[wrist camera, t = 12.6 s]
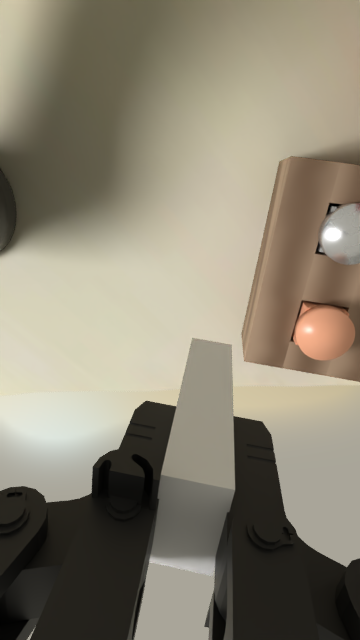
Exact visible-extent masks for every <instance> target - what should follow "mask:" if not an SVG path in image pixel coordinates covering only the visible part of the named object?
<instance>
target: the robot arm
mask: <svg viewBox="0 0 360 640" xmlns="http://www.w3.org/2000/svg"><path fill="white" fill-rule="evenodd" d="M15 222H16V207H15V201H14V197H13V193H12V191H11V188H10V186H9V183H8V181H7V179H6V178H5V176H4V174H3V173H2V171H1V170H0V251H1V250H2V249H3V248H4V247H5V246H6V245H7V244H8V242H9V241H10V239H11V237H12V234H13V232H14V228H15ZM273 450H274V449H273V443H272V437H271V434H270V433H269V431H268V430H267V428H266V427H265V425H264V424H263V422H261V421H255V420H251V419H245V418H240V417H235V416H233V381H232V345H230V344H224V343H218V342H213V341H207V340H201V339H195V338H192V342H191V346H190V350H189V355H188V359H187V363H186V368H185V372H184V376H183V381H182V385H181V389H180V394H179V398H178V402H177V407H176V406H171V405H166V404H160V403H155V402H150V401H145V402H144V403H143V404H141V405H140V406H139V407H138V408H137V409H135V411H134V414H133V416H132V419H131V421H130V424H129V426H128V428H127V430H126V433H125V436H124V438H123V440H122V443H121V445H120V447H119V449H118V450H113V451H110V452H108V453H107V454H105V455H103V456H102V457H100V458H99V459H98V461H97V462H96V463H95V465H94V466H93V477H92V493H91V494H89V495H87V496H85V497H82V498H80V499H75V500H70V501H59V502H49V503H46V501H45V498H44V496H43V495H42V494H41V493H39V492H38V491H37V490H36V489H32V488H28V487H24V486H21V487H10V488H7V489H5V490H2V491H0V640H27V638H28V637H29V635H30V634H31V632H32V631H33V629H34V628H35V630H34V632H33V634H32V636H31V639H30V640H134V637H135V632H136V627H137V622H138V617H139V612H140V607H141V603H142V598H143V593H144V587H145V579H146V574H147V569H148V564H149V562H152V563H157V564H160V565H165V566H170V567H174V568H179V569H183V570H187V571H192V572H196V573H201V574H205V575H209V576H213V572H214V568H215V587H214V592H213V596H212V599H211V602H210V606H209V610H208V614H207V618H206V622H205V627H209V640H360V559H356V560H353V561H351V563H350V564H349V565H348V567H345V566H343V565H341V564H340V563H338V562H336V561H334V560H332V559H330V558H328V557H326V556H324V555H322V554H321V553H319V552H317V551H316V550H314V549H313V548H311V547H309V546H308V545H307V544H306V543H304V541H302V540H301V539H300V538H299V537H298V535H297V533H296V530H295V528H294V527H293V526H292V524H291V523H290V522H289V521H288V519H287V518H286V515H285V511H284V506H283V500H282V494H281V489H280V483H279V478H278V472H277V466H276V464H275V462H276V460H275V454H274V452H273ZM35 626H36V627H35Z"/></svg>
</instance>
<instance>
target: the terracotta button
mask: <svg viewBox="0 0 360 640" xmlns="http://www.w3.org/2000/svg"><path fill="white" fill-rule="evenodd" d="M349 315H350V314H349V313H348V312H347V311H346V310H345V309H344V308H343V307H342V306H336V305H329V304H323V303H317V302H311V301H305V300H302V301H301V305H300V308H299V312H298V315H297V319H296V322H295V326H294V329H293V333H292V338H293V340H294V342H295V345H299V347H300V349H301V350H302V352H303V353H304V354H305V355H307V356H308V357H310V358H313V359H316V360H332V359H335V358H337V357H340V356H341V355H343V354H344V353H346V352H347V351H348V350H349V348H350V347H351V346H352V344H353V342H354V339H355V327H354V324H353V323H352V321H351V320H350V318H349Z"/></svg>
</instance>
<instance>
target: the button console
mask: <svg viewBox="0 0 360 640" xmlns="http://www.w3.org/2000/svg"><path fill="white" fill-rule="evenodd" d="M347 203H360V165H355V164H347V163H340V162H332V161H324V160H317V159H309V158H302V157H294V156H291V157H289V158H287V159H284V160H282V161H280V162H279V166H278V171H277V175H276V180H275V184H274V189H273V193H272V198H271V203H270V207H269V212H268V216H267V221H266V225H265V230H264V234H263V239H262V243H261V248H260V252H259V257H258V262H257V266H256V271H255V275H254V280H253V284H252V289H251V293H250V298H249V302H248V307H247V311H246V316H245V321H244V325H243V330H242V344H243V354H244V361H246V362H251V363H257V364H263V365H268V366H274V367H279V368H285V369H291V370H296V371H302V372H308V373H313V374H319V375H325V376H330V377H336V378H342V379H347V380H353V381H358V382H360V263H358V264H353V265H345V264H340V263H338V262H336V261H334V260H332V259H331V258H330V257H328V256H327V255H326V254H325V253H324V252H319V251H317V250H316V248H317V245H318V232H319V228H320V225H321V223H322V221H323V220H324V218H325V217H326V213H327V210H328V206H329V205H333V206H340V205H343V204H347ZM302 300H305V301H311V302H317V303H323V304H329V305H336V306H342V307H343V308H344V309H345V310H346V311H347V312H348V313H349V314H350V315H349V318H350V320H351V321H352V323H353V324H354V327H355V339H354V342H353V344H352V346H351V347H350V348H349V350H348V351H347V352H346V353H344V354H343V355H341V356H340V357H337V358H335V359H332V360H316V359H313V358H310V357H308V356H307V355H305V354H304V353H303V352H302V350H301V349H300V347H299V345H295V342H294V340H293V338H292V333H293V329H294V326H295V322H296V319H297V315H298V312H299V308H300V305H301V301H302Z"/></svg>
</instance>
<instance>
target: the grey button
mask: <svg viewBox="0 0 360 640" xmlns="http://www.w3.org/2000/svg"><path fill="white" fill-rule="evenodd" d="M316 250H317V251H319V252H324V253H325V254H326V255H327V256H328V257H330V258H331V259H332V260H334V261H336V262H338V263H340V264H345V265H353V264H358V263H360V203H347V204H343V205H340V206H333V205H329V206H328V210H327V213H326V217H325V218H324V220H323V221H322V223H321V225H320V228H319V232H318V245H317V248H316Z"/></svg>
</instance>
